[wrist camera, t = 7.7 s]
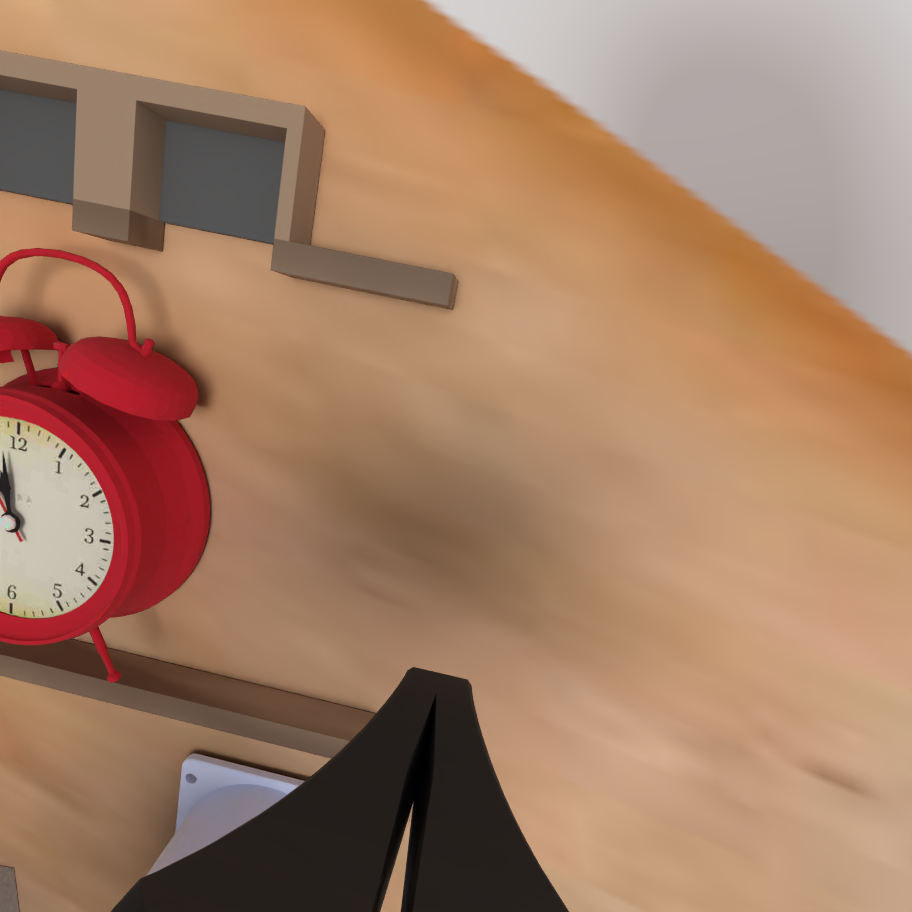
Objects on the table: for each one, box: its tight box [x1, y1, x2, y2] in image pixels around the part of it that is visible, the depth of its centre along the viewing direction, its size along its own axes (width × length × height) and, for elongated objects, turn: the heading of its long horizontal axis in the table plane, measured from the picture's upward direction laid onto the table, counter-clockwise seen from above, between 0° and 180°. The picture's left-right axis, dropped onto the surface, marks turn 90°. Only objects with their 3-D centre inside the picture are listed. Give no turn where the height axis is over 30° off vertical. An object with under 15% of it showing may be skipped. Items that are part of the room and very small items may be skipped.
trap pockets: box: [0, 50, 325, 245], centre depth 18 cm, size 4×13×2 cm, turn 78°
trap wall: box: [0, 199, 458, 759], centre depth 20 cm, size 19×21×2 cm
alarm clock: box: [0, 248, 210, 683], centre depth 19 cm, size 10×6×15 cm
